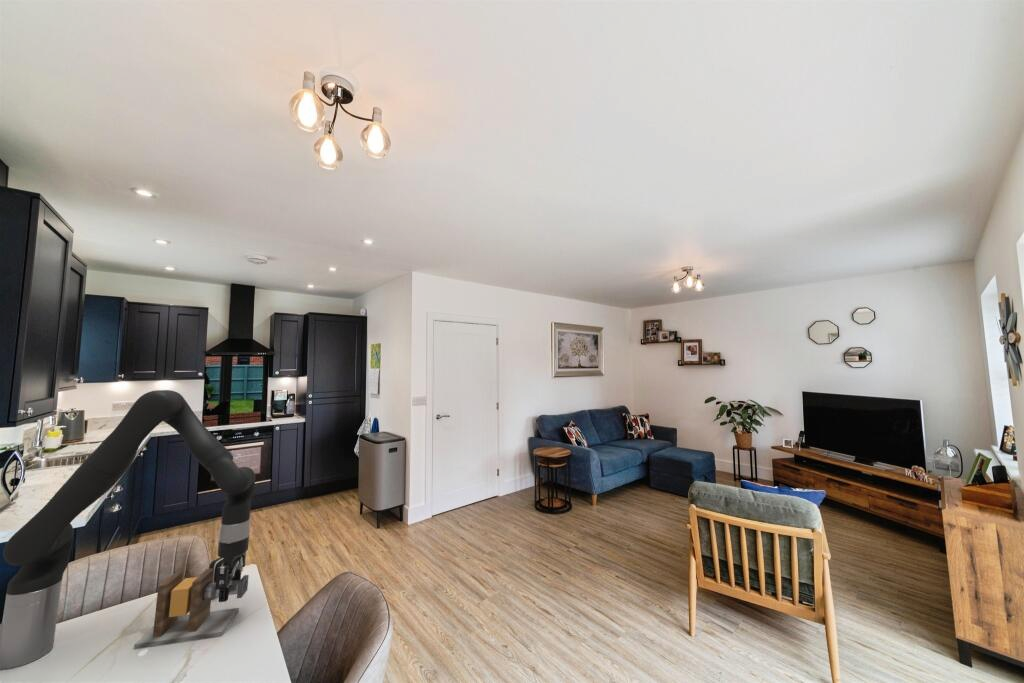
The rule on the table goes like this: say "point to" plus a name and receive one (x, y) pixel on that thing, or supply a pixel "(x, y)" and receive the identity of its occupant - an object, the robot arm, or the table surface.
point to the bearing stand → (186, 626)
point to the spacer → (181, 598)
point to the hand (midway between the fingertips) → (229, 593)
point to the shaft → (234, 588)
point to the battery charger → (216, 567)
